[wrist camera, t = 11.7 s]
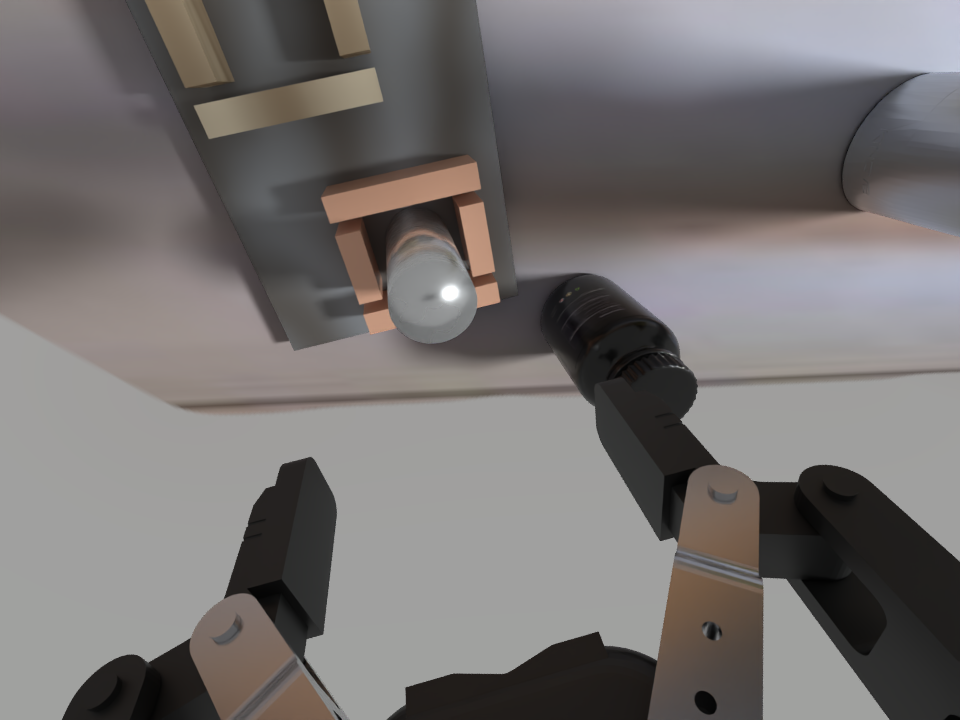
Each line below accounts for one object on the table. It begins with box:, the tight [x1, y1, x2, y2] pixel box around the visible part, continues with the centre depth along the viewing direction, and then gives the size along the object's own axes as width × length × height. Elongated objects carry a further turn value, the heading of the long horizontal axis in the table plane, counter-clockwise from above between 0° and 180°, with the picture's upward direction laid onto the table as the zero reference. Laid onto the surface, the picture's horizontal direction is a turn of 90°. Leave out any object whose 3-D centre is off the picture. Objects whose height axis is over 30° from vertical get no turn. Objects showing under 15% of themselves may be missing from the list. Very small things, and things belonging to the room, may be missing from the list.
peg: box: [386, 207, 477, 344], centre depth 24 cm, size 4×4×10 cm
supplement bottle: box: [541, 275, 698, 419], centre depth 30 cm, size 7×7×12 cm
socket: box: [321, 154, 500, 335], centre depth 27 cm, size 8×8×3 cm
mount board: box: [125, 0, 518, 351], centre depth 24 cm, size 16×23×4 cm
